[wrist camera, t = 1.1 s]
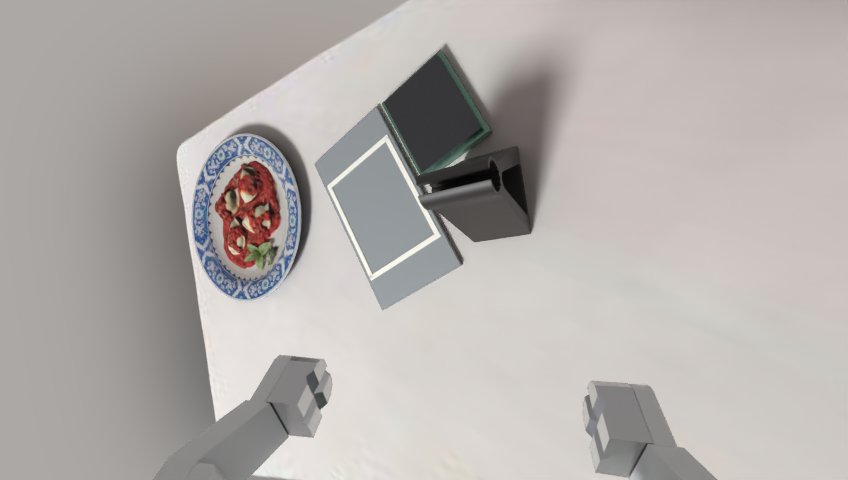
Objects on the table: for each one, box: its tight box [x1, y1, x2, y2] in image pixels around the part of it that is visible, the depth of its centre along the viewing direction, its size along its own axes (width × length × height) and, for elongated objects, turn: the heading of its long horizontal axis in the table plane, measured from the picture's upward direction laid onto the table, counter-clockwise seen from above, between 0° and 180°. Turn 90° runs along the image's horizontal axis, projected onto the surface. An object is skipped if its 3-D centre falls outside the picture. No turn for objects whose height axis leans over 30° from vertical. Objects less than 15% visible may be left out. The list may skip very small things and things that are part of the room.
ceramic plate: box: [192, 133, 301, 302], centre depth 54 cm, size 26×26×3 cm
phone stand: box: [416, 146, 531, 242], centre depth 31 cm, size 9×6×12 cm, turn 10°
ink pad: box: [382, 50, 492, 175], centre depth 39 cm, size 9×11×2 cm
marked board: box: [315, 107, 462, 310], centre depth 43 cm, size 12×22×1 cm, turn 32°
